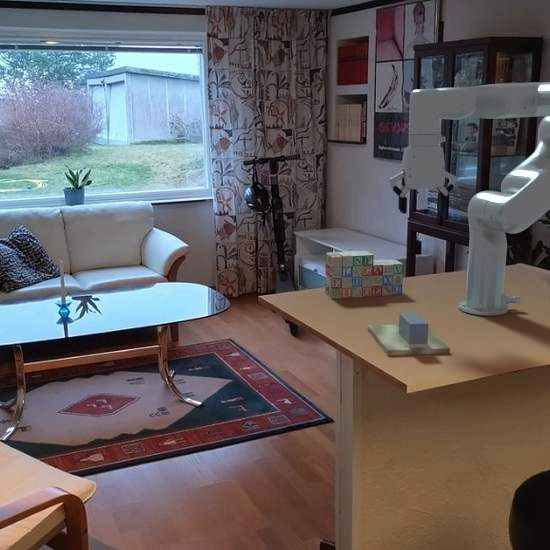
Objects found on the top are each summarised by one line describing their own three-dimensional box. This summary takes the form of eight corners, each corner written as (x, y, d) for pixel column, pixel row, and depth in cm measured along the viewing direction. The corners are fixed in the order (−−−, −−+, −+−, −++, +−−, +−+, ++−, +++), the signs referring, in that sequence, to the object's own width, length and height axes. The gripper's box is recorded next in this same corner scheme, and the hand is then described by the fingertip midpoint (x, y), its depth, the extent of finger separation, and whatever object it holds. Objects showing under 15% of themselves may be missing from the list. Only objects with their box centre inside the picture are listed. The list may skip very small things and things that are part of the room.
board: (423, 328, 173) (423, 323, 172) (449, 353, 155) (450, 348, 155) (367, 330, 171) (367, 325, 171) (387, 355, 154) (387, 350, 153)
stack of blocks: (394, 289, 209) (396, 249, 206) (402, 295, 203) (404, 253, 200) (324, 293, 205) (325, 251, 202) (330, 299, 199) (331, 256, 196)
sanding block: (416, 335, 163) (417, 313, 162) (427, 347, 155) (428, 323, 154) (398, 336, 163) (399, 313, 161) (408, 348, 155) (409, 324, 154)
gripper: (452, 139, 175) (449, 208, 179) (385, 141, 173) (383, 211, 177) (464, 141, 168) (461, 212, 172) (394, 143, 165) (392, 215, 170)
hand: (422, 211), depth 174 cm, fingers open, 9 cm apart
